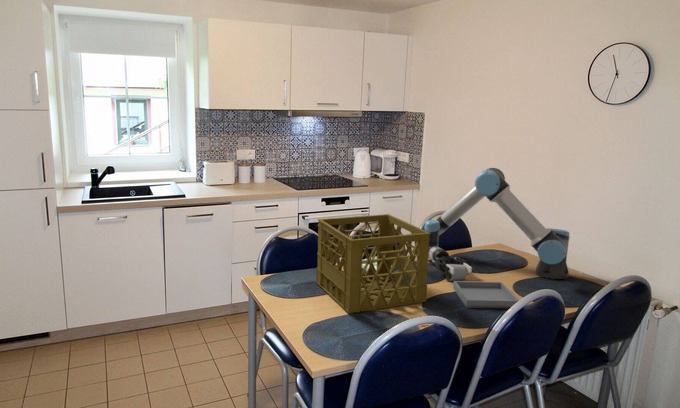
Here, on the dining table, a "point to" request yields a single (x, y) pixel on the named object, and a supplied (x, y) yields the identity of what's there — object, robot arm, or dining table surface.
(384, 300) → the milk crate
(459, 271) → the ceramic mug
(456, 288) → the tray
